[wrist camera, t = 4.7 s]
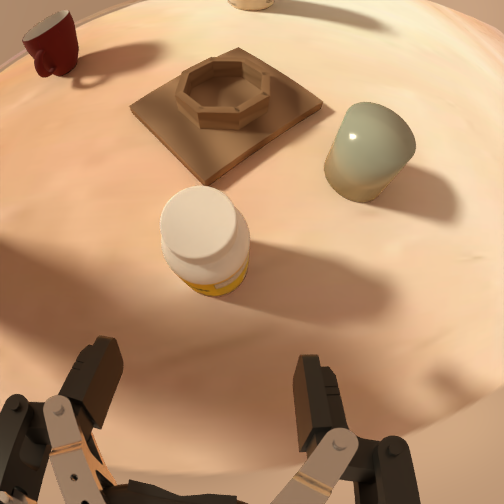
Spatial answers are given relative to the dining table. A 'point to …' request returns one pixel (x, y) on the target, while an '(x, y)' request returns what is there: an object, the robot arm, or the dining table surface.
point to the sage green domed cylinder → (368, 151)
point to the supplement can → (251, 4)
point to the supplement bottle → (205, 240)
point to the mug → (53, 44)
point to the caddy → (223, 112)
